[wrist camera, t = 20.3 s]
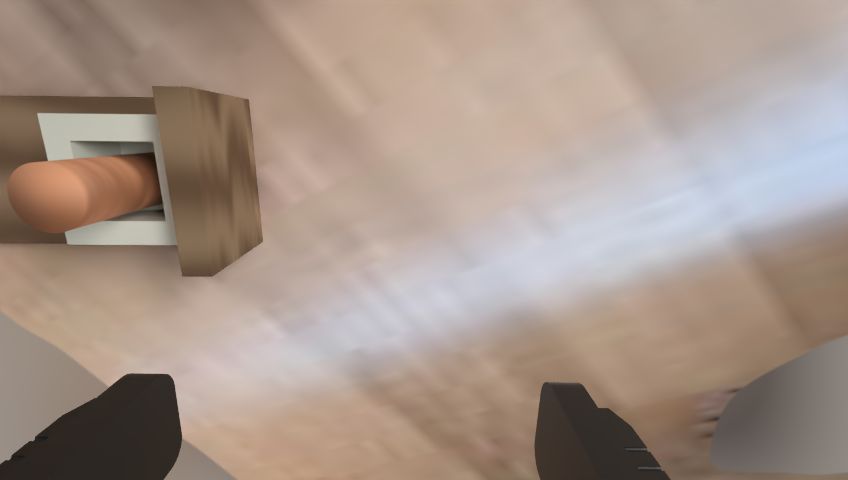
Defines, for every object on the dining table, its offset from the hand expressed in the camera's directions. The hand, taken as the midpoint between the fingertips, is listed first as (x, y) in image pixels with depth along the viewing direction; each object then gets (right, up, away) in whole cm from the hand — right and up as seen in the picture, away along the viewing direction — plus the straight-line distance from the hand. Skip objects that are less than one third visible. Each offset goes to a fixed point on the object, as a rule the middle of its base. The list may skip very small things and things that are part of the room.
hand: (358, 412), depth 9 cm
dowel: (-20, +9, +23) cm, 32 cm away
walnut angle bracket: (-25, +10, +25) cm, 37 cm away
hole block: (-20, +9, +24) cm, 32 cm away
